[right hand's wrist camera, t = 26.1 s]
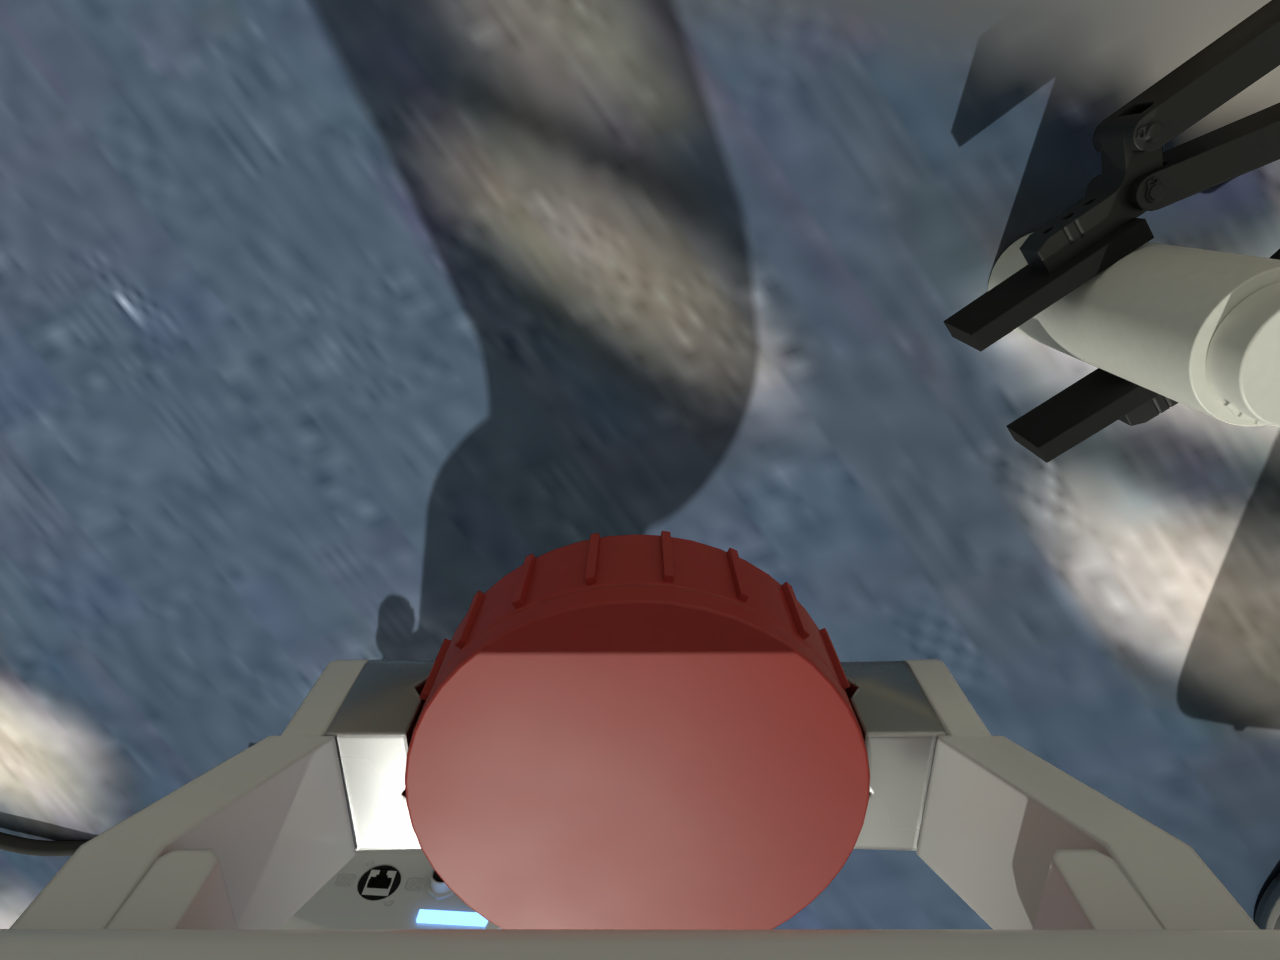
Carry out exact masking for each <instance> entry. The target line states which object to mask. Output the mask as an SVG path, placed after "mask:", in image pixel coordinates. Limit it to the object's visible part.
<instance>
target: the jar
mask: <svg viewBox="0 0 1280 960" xmlns="http://www.w3.org/2000/svg"><path fill="white" fill-rule="evenodd" d="M1030 234H1032V233H1030ZM1030 234H1028V235H1026V236H1024V237H1022V238H1020V239H1018V240H1017V241H1015V242H1014V243H1013V244H1012V245H1010V246H1009V247H1008V248H1007V249H1006V250H1005V251H1004V252H1003V254H1002V255H1001V256H1000V258H999V259H998V261H997V262H996V264H995V266H994V268H993V270H992V273H991V276H990V279H989V284H988V291H989V290H991V289H992V288H994V287H995V286H997V285H998V284H1000V283H1001V282H1003V281H1004V280H1006V279H1007V278H1008V277H1010V276H1011V275H1013V274H1014V273H1016V272H1017V271H1019V270H1020V269H1022V268H1023V267H1025V266H1026V265H1028V263H1027V261H1026V260H1025V258H1024V256H1023V254H1022V252H1021V250H1020V249H1019V248H1020V247H1021V246H1022V244H1023V243H1024V242H1025V240H1026V239H1027V238H1028V236H1029V235H1030ZM1013 331H1015V332H1017V333H1019V334H1022V335H1024V336H1026V337H1029V338H1031V339H1033V340H1036V341H1038V342H1040V343H1042V344H1045V345H1047V346H1049V347H1052V348H1054V349H1056V350H1059V351H1061V352H1063V353H1066V354H1068V355H1070V356H1072V357H1075V358H1077V359H1079V360H1082V361H1084V362H1086V363H1089V364H1091V365H1093V366H1096V367H1098V368H1100V369H1102V370H1105V371H1107V372H1109V373H1112V374H1114V375H1116V376H1119V377H1121V378H1123V379H1126V380H1128V381H1130V382H1132V383H1135V384H1137V385H1139V386H1142V387H1144V388H1146V389H1149V390H1151V391H1153V392H1156V393H1158V394H1160V395H1163V396H1165V397H1167V398H1169V399H1172V400H1174V401H1176V402H1179V403H1181V404H1183V405H1186V406H1188V407H1190V408H1193V409H1195V410H1197V411H1199V412H1202V413H1204V414H1206V415H1209V416H1211V417H1213V418H1216V419H1218V420H1220V421H1223V422H1226V423H1229V424H1232V425H1238V426H1263V425H1271V426H1274V427H1280V260H1278V259H1270V258H1263V257H1255V256H1248V255H1240V254H1233V253H1225V252H1218V251H1211V250H1203V249H1196V248H1188V247H1181V246H1173V245H1166V244H1158V243H1151V242H1146V243H1145V244H1143V245H1142V246H1140V247H1139V248H1137V249H1136V250H1134V251H1133V252H1131V253H1130V254H1128V255H1127V256H1125V257H1124V258H1122V259H1121V260H1119V261H1118V262H1116V263H1115V264H1113V265H1112V266H1110V267H1108V268H1107V269H1105V270H1104V271H1102V272H1101V273H1099V274H1098V275H1096V276H1095V277H1093V278H1092V279H1090V280H1089V281H1087V282H1086V283H1084V284H1083V285H1081V286H1080V287H1078V288H1077V289H1075V290H1074V291H1072V292H1070V293H1069V294H1067V295H1066V296H1064V297H1063V298H1061V299H1060V300H1058V301H1057V302H1055V303H1054V304H1052V305H1051V306H1049V307H1048V308H1046V309H1045V310H1043V311H1042V312H1040V313H1039V314H1037V315H1036V316H1034V317H1032V318H1031V319H1029V320H1028V321H1026V322H1025V323H1023V324H1022V325H1020V326H1019V327H1017V328H1016V329H1014V330H1013Z"/></svg>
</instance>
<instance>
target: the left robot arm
mask: <svg viewBox="0 0 1280 960" xmlns="http://www.w3.org/2000/svg"><path fill="white" fill-rule="evenodd" d="M1279 65H1280V0H1272V1H1270V2H1269V3H1267V4H1266V5H1265V6H1263V7H1262V8H1260V9H1259V10H1258V11H1256V12H1255V13H1253V14H1252V15H1251V16H1249V17H1248V18H1246V19H1245V20H1244V21H1242V22H1241V23H1239V24H1238V25H1237V26H1235V27H1234V28H1232V29H1231V30H1230V31H1228V32H1227V33H1225V34H1224V35H1223V36H1221V37H1220V38H1218V39H1217V40H1216V41H1214V42H1213V43H1211V44H1210V45H1209V46H1207V47H1206V48H1204V49H1203V50H1202V51H1200V52H1199V53H1197V54H1196V55H1195V56H1193V57H1192V58H1190V59H1189V60H1188V61H1186V62H1185V63H1183V64H1182V65H1181V66H1179V67H1178V68H1176V69H1175V70H1174V71H1172V72H1171V73H1169V74H1168V75H1167V76H1165V77H1164V78H1162V79H1161V80H1160V81H1158V82H1157V83H1155V84H1154V85H1153V86H1151V87H1150V88H1148V89H1147V90H1146V91H1144V92H1143V93H1141V94H1140V95H1139V96H1137V97H1136V98H1134V99H1133V100H1132V101H1130V102H1129V103H1127V104H1126V105H1125V106H1123V107H1122V108H1120V109H1119V110H1118V111H1116V112H1115V113H1113V114H1112V115H1111V116H1109V117H1108V118H1106V119H1105V120H1104V121H1102V122H1101V123H1100V124H1099V125H1098V126H1097V128H1096V130H1095V132H1094V135H1093V144H1094V147H1095V149H1096V150H1097V151H1098V152H1100V153H1102V167H1103V169H1102V175H1098V176H1096V177H1095V178H1093V179H1092V180H1091V182H1090V183H1089V184H1088V187H1087V189H1086V197H1084V198H1083V199H1081V200H1080V201H1079V202H1077V203H1076V204H1074V205H1073V206H1071V207H1070V208H1068V209H1067V210H1065V211H1064V212H1063V213H1061V214H1060V215H1058V216H1057V217H1056V218H1054V219H1052V220H1051V221H1049V222H1048V223H1047V224H1046V225H1044V226H1042V227H1041V228H1039V229H1038V230H1036V231H1035V232H1033V233H1032V234H1030V235H1029V236H1028V238H1027V239H1026V240H1025V242H1024V243H1023V244H1022V246H1021V247H1020V248H1019V249H1020V250H1021V252H1022V254H1023V256H1024V258H1025V260H1026V261H1027V263H1028V265H1026V266H1025V267H1023V268H1022V269H1020V270H1019V271H1017V272H1016V273H1014V274H1013V275H1011V276H1010V277H1008V278H1007V279H1006V280H1004V281H1003V282H1001V283H1000V284H998V285H997V286H995V287H994V288H992V289H991V290H989V291H988V292H986V293H985V294H983V295H982V296H980V297H979V298H977V299H976V300H975V301H973V302H972V303H970V304H969V305H967V306H966V307H964V308H963V309H961V310H960V311H958V312H957V313H955V314H954V315H952V316H951V317H949V318H948V319H946V320H945V321H943V322H944V323H945V325H946V327H947V328H948V330H949V332H950V333H951V335H952V337H954V338H956V339H958V340H960V341H962V342H964V343H966V344H967V345H969V346H971V347H973V348H975V349H977V350H979V351H982V350H984V349H985V348H987V347H988V346H990V345H991V344H993V343H994V342H996V341H998V340H999V339H1001V338H1002V337H1004V336H1005V335H1007V334H1008V333H1010V332H1011V331H1013V330H1014V329H1016V328H1017V327H1019V326H1020V325H1022V324H1023V323H1025V322H1026V321H1028V320H1029V319H1031V318H1032V317H1034V316H1036V315H1037V314H1039V313H1040V312H1042V311H1043V310H1045V309H1046V308H1048V307H1049V306H1051V305H1052V304H1054V303H1055V302H1057V301H1058V300H1060V299H1061V298H1063V297H1064V296H1066V295H1067V294H1069V293H1070V292H1072V291H1074V290H1075V289H1077V288H1078V287H1080V286H1081V285H1083V284H1084V283H1086V282H1087V281H1089V280H1090V279H1092V278H1093V277H1095V276H1096V275H1098V274H1099V273H1101V272H1102V271H1104V270H1105V269H1107V268H1108V267H1110V266H1112V265H1113V264H1115V263H1116V262H1118V261H1119V260H1121V259H1122V258H1124V257H1125V256H1127V255H1128V254H1130V253H1131V252H1133V251H1134V250H1136V249H1137V248H1139V247H1140V246H1142V245H1143V244H1145V243H1146V242H1148V241H1150V240H1151V239H1153V238H1154V237H1153V234H1152V232H1151V230H1150V228H1149V226H1148V224H1147V222H1146V220H1145V219H1140V218H1137V217H1138V216H1140V215H1141V214H1143V213H1144V212H1146V211H1153V210H1158V209H1160V208H1163V207H1165V206H1167V205H1170V204H1172V203H1175V202H1177V201H1179V200H1182V199H1184V198H1187V197H1189V196H1192V195H1194V194H1196V193H1199V192H1201V191H1204V190H1206V189H1208V188H1211V187H1213V186H1216V185H1218V184H1221V183H1223V182H1225V181H1228V180H1230V179H1233V178H1235V177H1237V176H1240V175H1242V174H1245V173H1247V172H1250V171H1252V170H1254V169H1257V168H1259V167H1262V166H1264V165H1266V164H1269V163H1271V162H1274V161H1276V160H1279V159H1280V103H1278V104H1275V105H1273V106H1271V107H1268V108H1266V109H1264V110H1261V111H1259V112H1257V113H1254V114H1252V115H1250V116H1247V117H1245V118H1243V119H1240V120H1238V121H1236V122H1233V123H1231V124H1228V125H1226V126H1224V127H1221V128H1219V129H1217V130H1214V131H1212V132H1210V133H1207V134H1205V135H1203V136H1200V137H1198V138H1196V139H1193V140H1191V141H1188V142H1186V143H1184V144H1181V145H1179V146H1177V147H1174V148H1172V149H1170V150H1167V151H1165V152H1163V145H1165V144H1166V143H1167V142H1169V141H1170V140H1172V139H1173V138H1175V137H1176V136H1178V135H1179V134H1180V133H1182V132H1183V131H1185V130H1186V129H1188V128H1189V127H1191V126H1192V125H1193V124H1195V123H1196V122H1198V121H1199V120H1201V119H1202V118H1204V117H1205V116H1206V115H1208V114H1209V113H1211V112H1212V111H1214V110H1215V109H1217V108H1218V107H1219V106H1221V105H1222V104H1224V103H1225V102H1227V101H1228V100H1230V99H1231V98H1232V97H1234V96H1235V95H1237V94H1238V93H1240V92H1241V91H1243V90H1244V89H1245V88H1247V87H1248V86H1250V85H1251V84H1253V83H1254V82H1256V81H1257V80H1258V79H1260V78H1261V77H1263V76H1264V75H1266V74H1267V73H1269V72H1270V71H1271V70H1273V69H1274V68H1276V67H1277V66H1279ZM1270 259H1278V260H1280V249H1279V250H1278V251H1277V252H1276V253H1275V254H1273V255H1272V256H1271V257H1270ZM1177 403H1179V402H1176V401H1174V400H1172V399H1169V398H1167V397H1165V396H1163V395H1160V394H1158V393H1156V392H1153V391H1151V390H1149V389H1146V388H1144V387H1142V386H1139V385H1137V384H1135V383H1132V382H1130V381H1128V380H1126V379H1123V378H1121V377H1119V376H1116V375H1114V374H1112V373H1109V372H1107V371H1105V370H1102V369H1100V368H1098V369H1097V370H1095V371H1093V372H1092V373H1090V374H1089V375H1087V376H1085V377H1084V378H1082V379H1081V380H1079V381H1077V382H1076V383H1074V384H1073V385H1071V386H1069V387H1068V388H1066V389H1065V390H1063V391H1061V392H1060V393H1058V394H1057V395H1055V396H1053V397H1052V398H1050V399H1049V400H1047V401H1046V402H1044V403H1042V404H1041V405H1039V406H1038V407H1036V408H1034V409H1033V410H1031V411H1030V412H1028V413H1026V414H1025V415H1023V416H1022V417H1020V418H1018V419H1017V420H1015V421H1014V422H1012V423H1010V424H1009V425H1007V428H1008V429H1009V431H1010V433H1011V434H1012V436H1013V438H1014V439H1015V440H1016V441H1017V442H1018V443H1020V444H1021V445H1023V446H1024V447H1026V448H1027V449H1028V450H1030V451H1031V452H1033V453H1034V454H1035V455H1037V456H1038V457H1040V458H1041V459H1042V460H1044V461H1045V462H1049V461H1051V460H1052V459H1054V458H1055V457H1057V456H1059V455H1060V454H1062V453H1064V452H1065V451H1067V450H1069V449H1070V448H1072V447H1074V446H1075V445H1077V444H1079V443H1080V442H1082V441H1084V440H1085V439H1087V438H1088V437H1090V436H1092V435H1093V434H1095V433H1097V432H1098V431H1100V430H1102V429H1103V428H1105V427H1107V426H1108V425H1110V424H1112V423H1113V422H1115V421H1116V420H1118V419H1119V420H1121V421H1123V422H1124V423H1126V424H1128V425H1130V426H1132V425H1137V424H1141V423H1145V422H1147V421H1149V420H1150V419H1152V418H1154V417H1155V416H1157V415H1159V413H1162V412H1164V411H1165V410H1167V409H1169V407H1172V406H1174V405H1175V404H1177ZM1254 923H1255V924H1256V925H1257V926H1258V928H1259V929H1280V873H1279V874H1278V875H1277V876H1276V877H1275V878H1274V879H1273V881H1272V882H1271V883H1270V885H1269V886H1268V888H1267V889H1266V891H1265V892H1264V894H1263V896H1262V898H1261V900H1260V902H1259V905H1258V907H1257V911H1256V914H1255V920H1254Z"/></svg>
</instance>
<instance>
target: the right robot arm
mask: <svg viewBox="0 0 1280 960" xmlns="http://www.w3.org/2000/svg"><path fill="white" fill-rule="evenodd" d="M434 662H435V661H408V660H371V661H370V660H335V661H332V662H330V663H329V664H328V665H327V666H326V668H325V669H324V671H323V672H322V674H321V675H320V677H319V678H318V680H317V681H316V683H315V684H314V686H313V687H312V689H311V690H310V692H309V694H308V695H307V697H306V698H305V700H304V701H303V703H302V704H301V706H300V707H299V709H298V710H297V712H296V713H295V715H294V716H293V718H292V719H291V721H290V722H289V724H288V725H287V727H286V728H285V730H284V731H283V733H282V734H281V736H268V737H267V738H265V739H263V740H261V741H260V742H258V743H256V744H255V745H253V746H251V747H249V748H248V749H246V750H244V751H243V752H241V753H239V754H237V755H236V756H234V757H232V758H230V759H229V760H227V761H225V762H224V763H222V764H220V765H218V766H217V767H215V768H213V769H212V770H210V771H208V772H206V773H205V774H203V775H201V776H199V777H198V778H196V779H194V780H193V781H191V782H189V783H187V784H186V785H184V786H182V787H181V788H179V789H177V790H175V791H174V792H172V793H170V794H168V795H167V796H165V797H163V798H162V799H160V800H158V801H156V802H155V803H153V804H151V805H150V806H148V807H146V808H144V809H143V810H141V811H139V812H138V813H136V814H134V815H132V816H131V817H129V818H127V819H125V820H124V821H122V822H120V823H119V824H117V825H115V826H113V827H112V828H110V829H108V830H107V831H105V832H103V833H101V834H100V835H98V836H96V837H94V838H93V839H91V840H73V841H44V840H34V839H28V838H23V837H18V836H14V835H10V834H6V833H2V832H0V849H2V850H6V851H11V852H15V853H21V854H27V855H37V856H69V855H72V856H71V857H70V858H69V860H68V861H67V862H66V863H65V864H64V865H63V867H62V868H61V869H60V870H59V871H58V872H57V874H56V875H55V876H54V877H53V878H52V879H51V881H50V882H49V883H48V884H47V885H46V886H45V888H44V889H43V890H42V891H41V892H40V894H39V895H38V896H37V897H36V898H35V899H34V901H33V902H32V903H31V904H30V905H29V906H28V908H27V909H26V910H25V911H24V912H23V913H22V915H21V916H20V917H19V918H18V919H17V920H16V922H15V923H14V924H13V925H12V926H11V927H10V929H0V960H1280V929H1259V928H1258V926H1257V925H1256V924H1255V923H1254V922H1253V920H1252V919H1251V918H1250V917H1249V916H1248V914H1247V913H1246V912H1245V911H1244V910H1243V908H1242V907H1241V906H1240V905H1239V904H1238V902H1237V901H1236V900H1235V899H1234V898H1233V896H1232V895H1231V894H1230V893H1229V892H1228V890H1227V889H1226V888H1225V887H1224V886H1223V884H1222V883H1221V882H1220V881H1219V880H1218V878H1217V877H1216V876H1215V875H1214V874H1213V872H1212V871H1211V870H1210V869H1209V868H1208V866H1207V865H1206V864H1205V863H1204V862H1203V860H1202V859H1201V858H1200V857H1199V856H1198V854H1197V853H1196V852H1195V851H1194V850H1193V848H1192V847H1190V846H1189V845H1187V844H1185V843H1184V842H1182V841H1180V840H1179V839H1177V838H1175V837H1173V836H1172V835H1170V834H1168V833H1167V832H1165V831H1163V830H1162V829H1160V828H1158V827H1156V826H1155V825H1153V824H1151V823H1150V822H1148V821H1146V820H1145V819H1143V818H1141V817H1140V816H1138V815H1136V814H1134V813H1133V812H1131V811H1129V810H1128V809H1126V808H1124V807H1123V806H1121V805H1119V804H1117V803H1116V802H1114V801H1112V800H1111V799H1109V798H1107V797H1106V796H1104V795H1102V794H1100V793H1099V792H1097V791H1095V790H1094V789H1092V788H1090V787H1089V786H1087V785H1085V784H1083V783H1082V782H1080V781H1078V780H1077V779H1075V778H1073V777H1072V776H1070V775H1068V774H1066V773H1065V772H1063V771H1061V770H1060V769H1058V768H1056V767H1055V766H1053V765H1051V764H1049V763H1048V762H1046V761H1044V760H1043V759H1041V758H1039V757H1038V756H1036V755H1034V754H1032V753H1031V752H1029V751H1027V750H1026V749H1024V748H1022V747H1021V746H1019V745H1017V744H1016V743H1014V742H1012V741H1010V740H1009V739H1007V738H1005V737H1004V736H991V734H990V733H989V731H988V730H987V728H986V727H985V725H984V724H983V722H982V721H981V719H980V718H979V716H978V715H977V713H976V711H975V710H974V708H973V707H972V705H971V704H970V702H969V701H968V699H967V698H966V696H965V695H964V693H963V692H962V690H961V689H960V687H959V685H958V684H957V682H956V681H955V679H954V678H953V676H952V675H951V673H950V672H949V670H948V669H947V667H946V666H945V664H944V663H943V662H941V661H940V660H938V659H925V660H902V661H873V662H840V663H841V665H842V668H843V670H844V673H845V675H846V677H847V680H848V682H849V684H850V687H848V688H846V689H845V691H846V694H847V696H848V699H849V701H850V703H851V706H852V709H853V711H854V713H855V716H856V718H857V721H858V723H859V725H860V728H861V731H862V735H863V738H864V742H865V745H866V748H867V752H868V761H869V769H870V789H869V802H868V806H867V811H866V815H865V820H864V824H863V827H862V829H861V832H860V834H859V837H858V839H857V842H856V844H855V847H854V848H853V849H882V850H917V852H916V854H917V855H918V856H919V857H920V858H921V859H922V860H923V861H924V862H925V863H926V864H927V865H928V866H929V867H930V868H931V869H932V870H933V871H934V872H936V873H937V874H938V875H939V876H940V877H941V878H942V879H943V880H944V881H945V882H946V883H947V884H948V885H949V886H950V887H951V888H952V889H953V890H954V891H955V892H956V893H957V894H958V895H959V896H960V897H961V898H962V899H963V900H964V901H965V902H966V903H967V904H968V905H969V906H970V907H971V908H972V909H973V910H974V911H975V912H976V913H977V914H978V915H979V916H980V917H981V918H982V919H983V920H984V921H985V922H986V923H987V924H989V925H990V926H991V927H992V928H993V929H994V930H744V929H502V928H500V927H498V926H496V925H495V924H493V923H491V922H490V921H488V920H486V919H485V918H484V917H482V916H481V915H480V914H478V913H477V912H476V911H474V910H473V909H472V908H470V907H469V906H468V905H466V904H465V903H464V902H463V901H462V900H461V899H460V898H459V897H458V896H457V895H456V894H455V893H454V892H453V891H452V890H451V889H450V888H449V887H448V886H447V885H446V884H445V882H444V881H443V880H442V879H441V878H440V876H439V875H438V874H437V873H436V871H435V870H434V869H433V867H432V866H431V864H430V862H429V861H428V859H427V857H426V856H425V854H424V852H423V851H422V849H421V847H420V844H419V842H418V840H417V837H416V835H415V832H414V830H413V828H412V824H411V820H410V816H409V812H408V808H407V803H406V791H405V769H406V759H407V752H408V748H409V745H410V741H411V737H412V734H413V730H414V728H415V725H416V723H417V720H418V718H419V716H420V713H421V711H422V709H423V706H424V704H425V700H422V699H420V698H419V697H420V695H421V693H422V690H423V688H424V686H425V683H426V681H427V679H428V676H429V674H430V672H431V669H432V667H433V665H434Z"/></svg>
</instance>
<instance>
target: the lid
mask: <svg viewBox="0 0 1280 960" xmlns="http://www.w3.org/2000/svg"><path fill="white" fill-rule="evenodd" d="M848 687H850V684H849V682H848V680H847V677H846V675H845V673H844V670H843V668H842V665H841V663H840V661H839V658H838V656H837V654H836V651H835V649H834V647H833V644H832V642H831V639H830V637H829V635H828V633H827V631H826V629H825V628H824V629H821V630H819V629H818V627H817V626H816V624H815V623H814V621H813V620H812V618H811V617H810V616H809V614H808V613H807V611H806V610H805V608H804V607H803V606H802V605H801V604H800V603H799V602H798V601H797V599H796V597H795V594H794V591H793V589H792V586H791V585H790V584H788V583H787V582H785V583H784V584H783V585H781V584H779V583H778V582H777V581H776V580H774V579H773V578H772V577H771V576H769V575H768V574H767V573H765V572H763V571H762V570H760V569H758V568H757V567H755V566H753V565H752V564H750V563H749V562H747V561H745V560H743V559H741V558H739V556H738V552H737V551H736V550H734V549H732V548H729V550H728V552H725V551H723V550H721V549H718V548H714V547H711V546H708V545H705V544H701V543H698V542H695V541H691V540H685V539H679V538H673V537H671V536H670V532H666V531H662V532H661V536H656V535H637V534H636V535H620V536H607V537H602V538H600V535H599V533H595V534H591V536H590V540H585V541H580V542H577V543H574V544H571V545H567V546H564V547H561V548H558V549H555V550H552V551H550V552H548V553H546V554H543V555H541V556H539V557H537V558H535V556H534V555H533V554H530V555H528V556H526V558H525V561H524V564H523V565H522V566H520V567H518V568H517V569H515V570H514V571H512V572H510V573H509V574H507V575H506V576H504V577H503V578H502V579H501V580H500V581H498V582H497V583H496V584H495V585H494V586H492V587H491V588H490V589H489V590H488V591H486V592H485V593H482V592H481V591H478V592H477V593H476V594H475V595H474V598H473V600H472V603H471V605H470V608H469V610H468V613H467V614H466V616H465V617H464V619H463V620H462V622H461V623H460V625H459V626H458V628H457V629H456V631H455V633H454V636H453V638H452V640H451V641H450V640H448V639H444V642H443V644H442V646H441V648H440V651H439V653H438V655H437V658H436V660H435V662H434V665H433V667H432V669H431V672H430V674H429V676H428V679H427V681H426V683H425V686H424V688H423V690H422V693H421V695H420V697H419V698H420V699H422V700H425V704H424V706H423V709H422V711H421V713H420V716H419V718H418V720H417V723H416V725H415V728H414V730H413V734H412V737H411V741H410V745H409V748H408V752H407V759H406V769H405V791H406V803H407V808H408V812H409V816H410V820H411V824H412V828H413V830H414V832H415V835H416V837H417V840H418V842H419V844H420V847H421V849H422V851H423V852H424V854H425V856H426V857H427V859H428V861H429V862H430V864H431V866H432V867H433V869H434V870H435V871H436V873H437V874H438V875H439V876H440V878H441V879H442V880H443V881H444V882H445V884H446V885H447V886H448V887H449V888H450V889H451V890H452V891H453V892H454V893H455V894H456V895H457V896H458V897H459V898H460V899H461V900H462V901H463V902H464V903H465V904H466V905H468V906H469V907H470V908H472V909H473V910H474V911H476V912H477V913H478V914H480V915H481V916H482V917H484V918H485V919H486V920H488V921H490V922H491V923H493V924H495V925H496V926H498V927H500V928H502V929H744V930H772V929H773V928H775V927H777V926H778V925H780V924H782V923H783V922H785V921H787V920H788V919H790V918H791V917H793V916H794V915H795V914H797V913H798V912H799V911H800V910H802V909H803V908H804V907H806V906H807V905H808V904H810V903H811V902H812V901H813V900H814V899H815V898H816V897H817V896H818V895H819V894H820V893H821V892H822V891H823V890H824V889H825V888H826V887H827V886H828V885H829V884H830V882H831V881H832V880H833V879H834V877H835V876H836V875H837V874H838V872H839V871H840V870H841V868H842V867H843V866H844V864H845V862H846V860H847V859H848V857H849V855H850V854H851V852H852V850H853V848H854V847H855V844H856V842H857V839H858V837H859V834H860V832H861V829H862V827H863V824H864V820H865V815H866V811H867V806H868V802H869V789H870V769H869V761H868V752H867V748H866V745H865V742H864V738H863V735H862V731H861V728H860V725H859V723H858V721H857V718H856V716H855V713H854V711H853V709H852V706H851V703H850V701H849V699H848V696H847V694H846V691H845V689H846V688H848Z"/></svg>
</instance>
